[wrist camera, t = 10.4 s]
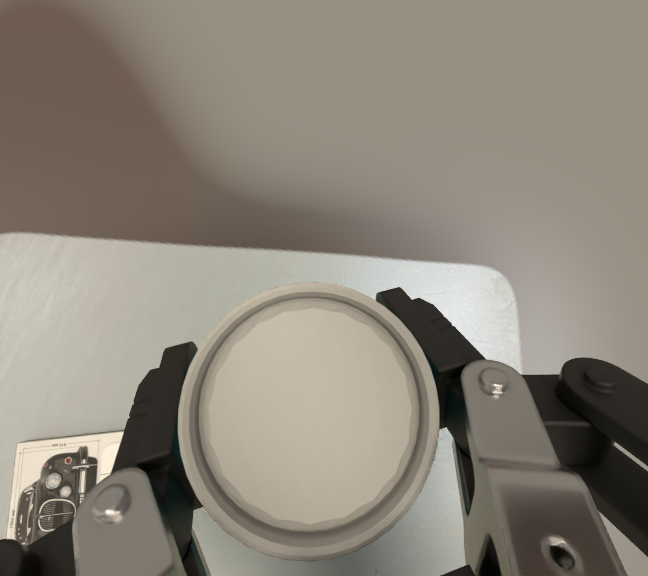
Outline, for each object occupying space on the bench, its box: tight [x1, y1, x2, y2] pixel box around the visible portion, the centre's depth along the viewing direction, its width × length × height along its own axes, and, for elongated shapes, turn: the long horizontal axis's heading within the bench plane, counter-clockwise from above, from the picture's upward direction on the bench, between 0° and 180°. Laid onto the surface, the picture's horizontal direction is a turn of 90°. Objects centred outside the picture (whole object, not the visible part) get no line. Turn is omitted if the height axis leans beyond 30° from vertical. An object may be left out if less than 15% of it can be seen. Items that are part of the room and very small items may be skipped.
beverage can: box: [178, 282, 439, 561], centre depth 14 cm, size 6×6×15 cm
